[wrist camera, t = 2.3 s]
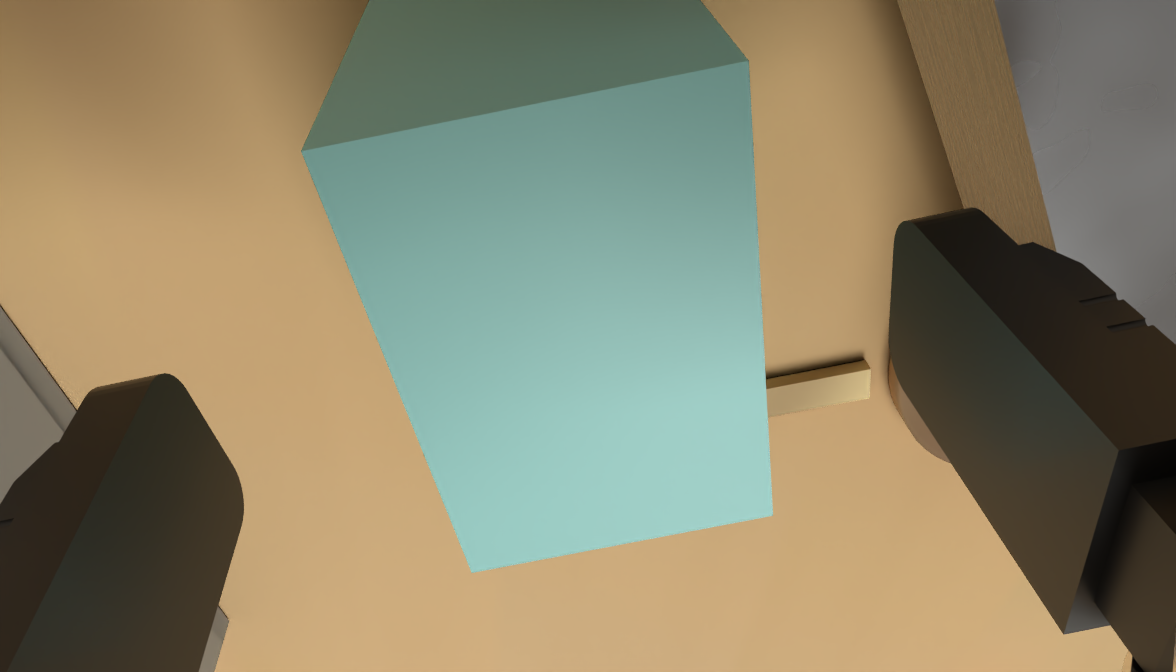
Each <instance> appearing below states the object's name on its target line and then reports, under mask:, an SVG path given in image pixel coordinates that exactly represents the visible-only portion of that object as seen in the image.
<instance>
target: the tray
mask: <svg viewBox="0 0 1176 672" xmlns="http://www.w3.org/2000/svg"><path fill="white" fill-rule="evenodd" d="M76 412H77V411H76V410H75V409H74V407H73V406H72V405H71V403H70V402H69V400H68V399H67V398H66V396H65V395H64V394H63V392H62V391H61V389H60V388H59V387H58V385H57V384H56V383H55V381H54V380H53V378H52V377H51V376H50V374H49V373H48V372H47V370H46V369H45V367H44V366H43V365H42V363H41V362H40V361H39V359H38V358H37V356H36V355H35V354H34V352H33V351H32V350H31V348H30V347H29V345H28V344H27V343H26V341H25V340H24V339H23V337H22V336H21V334H20V333H19V332H18V330H17V329H16V328H15V326H14V325H13V323H12V322H11V321H10V319H9V318H8V317H7V315H6V314H5V312H4V311H3V310H2V308H1V307H0V504H1V502H2V500H3V499H4V497H5V495H6V494H7V492H8V491H9V489H10V487H11V486H12V484H13V482H14V481H15V480H16V479H17V478H18V477H19V476H21V475H22V474H23V473H24V472H25V471H26V470H27V469H28V468H29V467H30V466H31V465H32V464H33V463H34V462H35V461H36V460H37V459H38V458H39V457H40V456H41V455H42V454H43V453H44V452H45V451H46V450H47V449H49V448H50V447H51V446H52V445H53V444H54V443H56V442H59V441H60V439H61V437H62V436H63V434H64V432H65V431H66V429H67V427H68V425H69V424H70V422H71V420H72V419H73V417H74V415H75V413H76ZM228 623H229V620H228V619H227V618H226V616H225V615H224V614H223V612H222V611H221V609H220V608H219V607H218V608H217V611H216V614H215V618H214V621H213V625H212V628H211V631H210V635H209V638H208V642H207V645H206V648H205V652H204V655H203V659H202V662H201V666H200V669H199V672H214V671H215V667H216V664H217V661H218V657H219V654H220V650H221V647H222V644H223V640H224V637H225V633H226V630H227V627H228Z"/></svg>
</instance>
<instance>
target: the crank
mask: <svg viewBox="0 0 1176 672" xmlns="http://www.w3.org/2000/svg"><path fill="white" fill-rule="evenodd" d="M897 2H898V5H899V8H900V11H901V14H902V18H903V21H904V24H905V27H906V30H907V33H908V36H909V39H910V42H911V46H912V49H913V52H914V55H915V58H916V61H917V64H918V67H919V71H920V74H921V77H922V80H923V83H924V86H925V89H926V92H927V96H928V99H929V102H930V105H931V108H932V111H933V114H934V117H935V120H936V124H937V127H938V130H939V133H940V136H941V139H942V142H943V145H944V149H945V152H946V155H947V158H948V161H949V164H950V167H951V170H952V173H953V177H954V180H955V183H956V186H957V189H958V192H959V195H960V198H961V202H962V205H963V208H964V209H966V208H970V207H973V208H977V209H980V210H981V211H982V212H984V213H985V214H986V215H987V216H988V217H989V218H990V219H991V220H992V221H993V222H994V223H996V224H997V225H998V226H999V227H1000V228H1001V229H1002V230H1003V231H1004V232H1005V233H1006V234H1007V235H1008V236H1009V237H1011V238H1012V239H1013V240H1014V241H1015V242H1016V243H1017V244H1018V245H1021V244H1026V243H1031V242H1034V243H1037V244H1039V245H1041V246H1044V247H1046V248H1048V249H1050V250H1053V251H1055V252H1057V253H1060V254H1062V255H1064V256H1067V257H1069V258H1071V259H1073V260H1076V261H1078V262H1080V263H1082V264H1083V265H1085V266H1086V267H1087V268H1088V269H1089V270H1090V271H1091V272H1093V273H1094V274H1095V275H1096V276H1097V277H1098V278H1100V279H1101V280H1102V281H1103V282H1104V283H1105V284H1106V285H1108V286H1109V287H1110V288H1111V289H1112V290H1113V291H1115V292H1116V296H1117V299H1118V300H1122V299H1124V300H1125V301H1126V302H1127V303H1128V304H1130V305H1131V306H1132V307H1133V308H1134V309H1135V310H1137V311H1138V312H1139V313H1140V314H1141V315H1142V316H1143V317H1145V318H1146V319H1145V321H1146V324H1147V326H1151V325H1154V326H1155V327H1156V328H1157V329H1158V330H1160V331H1161V332H1162V333H1163V334H1164V335H1165V336H1167V337H1168V338H1169V339H1170V340H1171V341H1172V342H1173V343H1175V344H1176V0H897Z"/></svg>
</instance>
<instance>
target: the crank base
mask: <svg viewBox="0 0 1176 672" xmlns="http://www.w3.org/2000/svg"><path fill="white" fill-rule="evenodd" d="M870 380H871V368H870V367H869V365H868V363H867V362H866V360H864V361H859V362H854V363H848V364H843V365H838V366H833V367H828V368H822V369H817V370H812V371H807V372H802V373H796V374H791V375H786V376H781V377H776V378H770V379H766V395H767V414H768V418H769V417H774V416H779V415H785V414H790V413H795V412H800V411H806V410H811V409H816V408H821V407H826V406H832V405H837V404H842V403H847V402H853V401H858V400H863V399H868V398H870ZM889 387H890V392H891V397H892V399H893V402H894V404H895V406H896V409H897V410H898V412H899V414H900V415H901V417H902V419H903V420H904V422H905V424H906V425H907V427H908V429H909V430H910V432H911V433H912V435H913V436H914V438H915V439H916V441H917V442H918V443H920V444H921V445H922V446H923V447H924V448H925V449H926V450H927V451H929V452H930V453H931V454H933V455H934V456H936V457H938V458H940V459H942V460H944V461H946V462H949V463H951V462H950V461H949V459H948V458H947V456H946V455H945V453H944V452H943V450H942V449H941V447H940V446H939V444H938V443H937V441H936V440H935V438H934V436H933V435H932V433H931V432H930V430H929V429H928V427H927V426H926V424H925V423H924V421H923V420H922V418H921V417H920V415H919V414H918V412H917V411H916V409H915V408H914V406H913V404H912V403H911V401H910V400H909V398H908V397H907V395H906V394H905V392H904V391H903V389H902V387H901V385H900V383H899V381H898V379H897V376H896V374H895V371H894V367H893V364H892V360H891V357H890V364H889Z"/></svg>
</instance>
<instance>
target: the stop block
mask: <svg viewBox="0 0 1176 672" xmlns="http://www.w3.org/2000/svg"><path fill="white" fill-rule="evenodd" d="M301 152H302V155H303V157H304V160H305V162H306V164H307V167H308V169H309V172H310V174H311V177H312V179H313V182H314V184H315V187H316V189H317V192H318V194H319V197H320V199H321V202H322V204H323V206H324V209H325V211H326V214H327V216H328V219H329V221H330V224H331V226H332V229H333V231H334V234H335V236H336V239H337V241H338V244H339V246H340V248H341V251H342V253H343V256H344V258H345V261H346V263H347V266H348V268H349V271H350V273H351V276H352V278H353V281H354V283H355V285H356V288H357V290H358V293H359V295H360V298H361V300H362V303H363V305H364V308H365V310H366V313H367V315H368V318H369V320H370V323H371V325H372V327H373V330H374V332H375V335H376V337H377V340H378V342H379V345H380V347H381V350H382V352H383V355H384V357H385V360H386V362H387V365H388V367H389V369H390V372H391V374H392V377H393V379H394V382H395V384H396V387H397V389H398V392H399V394H400V397H401V399H402V402H403V404H404V406H405V409H406V411H407V414H408V416H409V419H410V421H411V424H412V426H413V429H414V431H415V434H416V436H417V439H418V441H419V444H420V446H421V448H422V451H423V453H424V456H425V458H426V461H427V463H428V466H429V468H430V471H431V473H432V476H433V478H434V481H435V483H436V485H437V488H438V490H439V493H440V495H441V498H442V500H443V503H444V505H445V508H446V510H447V513H448V515H449V518H450V520H451V523H452V525H453V527H454V530H455V532H456V535H457V537H458V540H459V542H460V545H461V547H462V550H463V552H464V555H465V557H466V560H467V562H468V565H469V567H470V569H471V572H472V573H474V572H479V571H484V570H489V569H495V568H500V567H505V566H510V565H516V564H521V563H526V562H531V561H537V560H542V559H547V558H552V557H558V556H563V555H568V554H573V553H579V552H584V551H589V550H595V549H600V548H605V547H610V546H616V545H621V544H626V543H631V542H637V541H642V540H647V539H652V538H658V537H663V536H668V535H673V534H679V533H684V532H689V531H694V530H700V529H705V528H710V527H715V526H721V525H726V524H731V523H737V522H742V521H747V520H752V519H758V518H763V517H768V516H773V508H772V489H771V470H770V451H769V433H768V414H767V395H766V376H765V358H764V339H763V320H762V301H761V283H760V264H759V245H758V226H757V208H756V189H755V170H754V151H753V133H752V114H751V95H750V76H749V60H748V59H747V58H746V57H745V55H744V54H743V53H742V52H741V50H740V49H739V48H738V47H737V45H736V44H735V43H734V42H733V40H732V39H731V38H730V37H729V35H728V34H727V33H726V32H725V30H724V29H723V28H722V27H721V25H720V24H719V23H718V22H717V20H716V19H715V18H714V17H713V15H712V14H711V13H710V12H709V10H708V9H707V8H706V7H705V5H704V4H703V3H702V2H701V0H369V2H368V4H367V6H366V9H365V11H364V13H363V15H362V17H361V20H360V22H359V24H358V26H357V28H356V31H355V33H354V35H353V37H352V40H351V42H350V44H349V46H348V48H347V51H346V53H345V55H344V57H343V60H342V62H341V64H340V66H339V68H338V71H337V73H336V75H335V77H334V79H333V82H332V84H331V86H330V88H329V91H328V93H327V95H326V97H325V99H324V102H323V104H322V106H321V108H320V111H319V113H318V115H317V117H316V119H315V122H314V124H313V126H312V128H311V130H310V133H309V135H308V137H307V139H306V142H305V144H304V146H303V148H302V150H301Z"/></svg>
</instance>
